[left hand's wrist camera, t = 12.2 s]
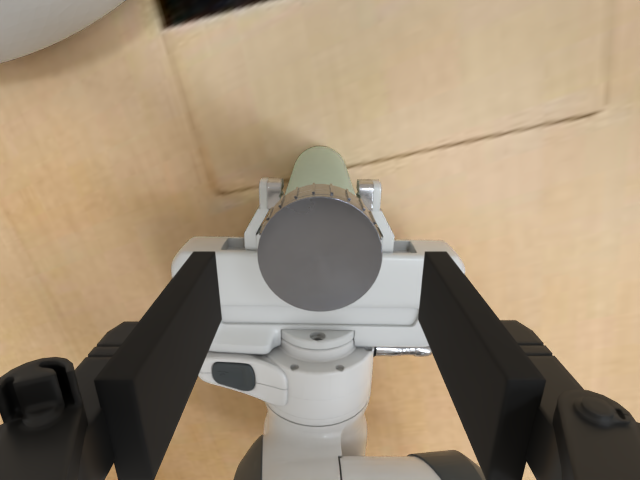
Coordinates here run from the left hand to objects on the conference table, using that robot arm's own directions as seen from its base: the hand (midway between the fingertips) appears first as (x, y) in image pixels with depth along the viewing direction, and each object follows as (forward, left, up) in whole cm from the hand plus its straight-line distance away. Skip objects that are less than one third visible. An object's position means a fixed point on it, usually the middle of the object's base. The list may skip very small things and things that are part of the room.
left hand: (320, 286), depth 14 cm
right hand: (-1, 0, -14) cm, 14 cm away
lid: (0, 0, -3) cm, 3 cm away
